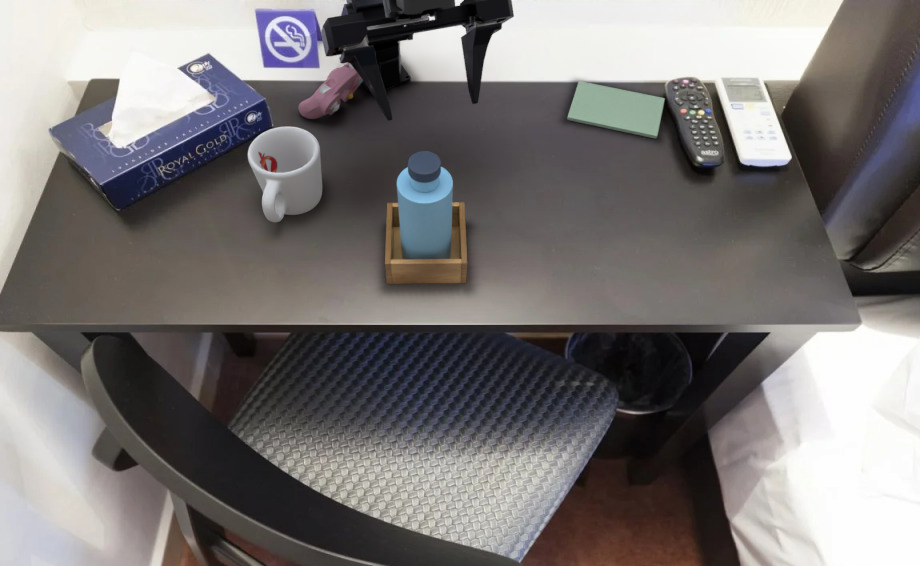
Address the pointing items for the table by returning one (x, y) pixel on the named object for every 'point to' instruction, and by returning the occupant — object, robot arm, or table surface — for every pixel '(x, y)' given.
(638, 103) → the mat
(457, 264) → the open wooden box
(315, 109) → the pink toy car
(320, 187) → the cup
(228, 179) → the table surface
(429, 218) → the bottle
